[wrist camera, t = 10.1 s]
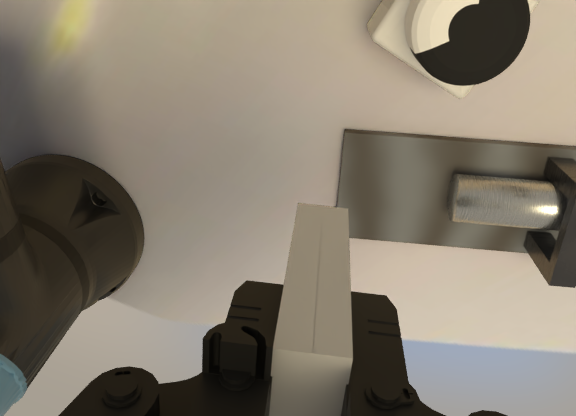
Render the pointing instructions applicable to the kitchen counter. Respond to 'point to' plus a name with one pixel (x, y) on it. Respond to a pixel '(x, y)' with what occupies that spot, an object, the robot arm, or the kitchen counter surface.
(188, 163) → the kitchen counter surface
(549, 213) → the tube
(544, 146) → the board
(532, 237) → the collar
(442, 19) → the container
